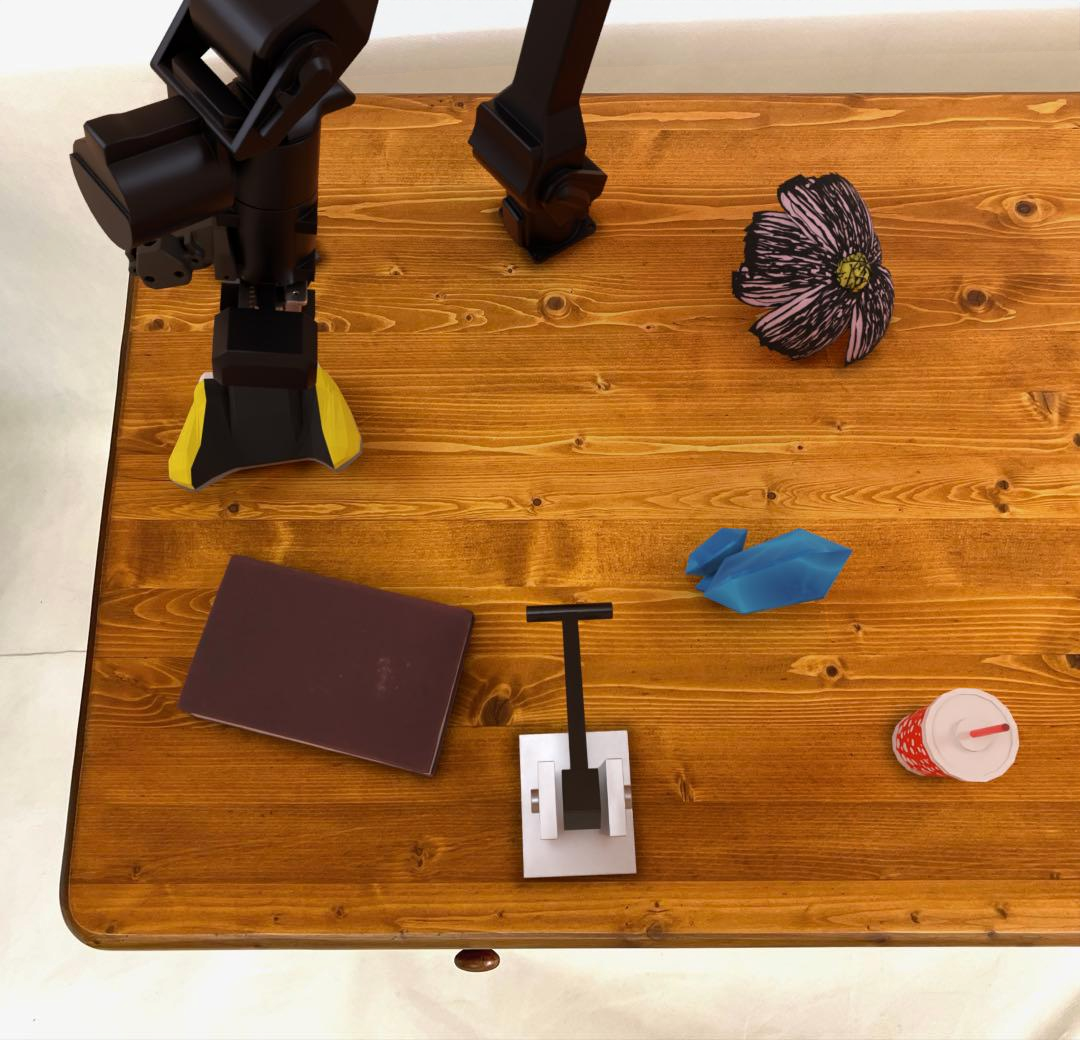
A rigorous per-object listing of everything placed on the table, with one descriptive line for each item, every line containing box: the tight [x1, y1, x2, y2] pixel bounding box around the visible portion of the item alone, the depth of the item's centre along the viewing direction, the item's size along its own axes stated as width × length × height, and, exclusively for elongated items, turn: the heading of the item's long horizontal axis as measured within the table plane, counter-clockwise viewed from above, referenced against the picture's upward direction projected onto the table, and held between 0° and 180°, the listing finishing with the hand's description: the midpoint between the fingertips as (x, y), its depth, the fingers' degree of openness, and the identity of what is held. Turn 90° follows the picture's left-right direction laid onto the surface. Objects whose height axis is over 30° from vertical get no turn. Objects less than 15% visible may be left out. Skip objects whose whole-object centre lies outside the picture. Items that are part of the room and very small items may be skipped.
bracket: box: [518, 729, 637, 879], centre depth 64 cm, size 10×8×16 cm
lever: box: [525, 601, 614, 830], centre depth 63 cm, size 16×6×2 cm, turn 2°
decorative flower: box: [731, 171, 895, 368], centre depth 79 cm, size 14×12×15 cm
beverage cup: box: [891, 687, 1020, 783], centre depth 66 cm, size 6×6×14 cm
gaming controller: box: [167, 362, 364, 493], centre depth 78 cm, size 15×6×10 cm
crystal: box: [684, 527, 854, 616], centre depth 73 cm, size 7×9×12 cm
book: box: [175, 553, 476, 778], centre depth 74 cm, size 12×19×3 cm, turn 76°
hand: (269, 343), depth 71 cm, fingers closed
